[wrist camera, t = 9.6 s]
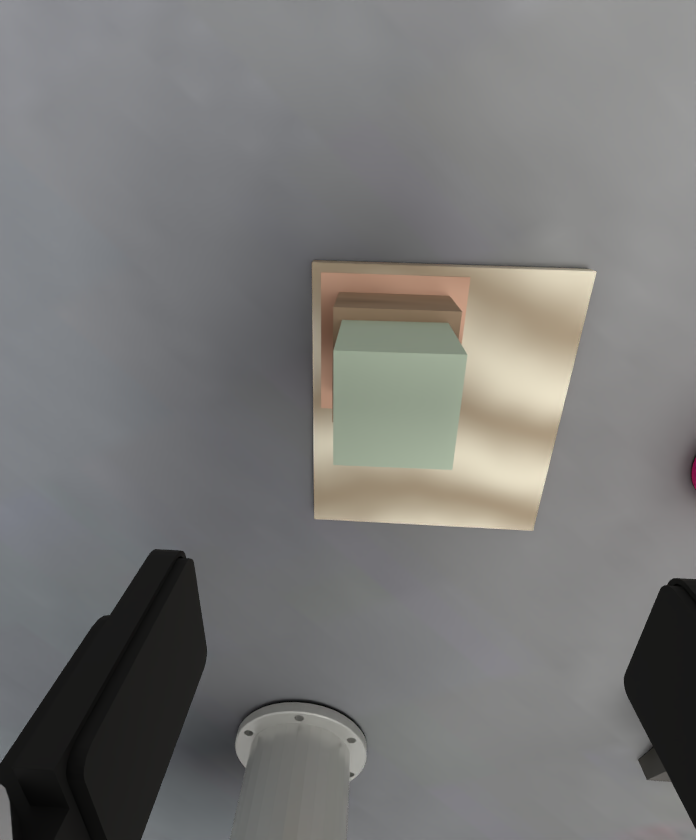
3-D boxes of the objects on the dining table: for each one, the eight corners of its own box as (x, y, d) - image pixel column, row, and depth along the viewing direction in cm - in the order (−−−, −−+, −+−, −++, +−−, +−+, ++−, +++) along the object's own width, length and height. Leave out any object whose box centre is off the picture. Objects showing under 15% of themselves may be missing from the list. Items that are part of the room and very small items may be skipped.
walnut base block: (437, 397, 28) (447, 427, 24) (337, 393, 28) (331, 422, 24) (449, 295, 25) (462, 311, 21) (339, 291, 25) (333, 307, 22)
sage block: (437, 419, 24) (452, 469, 19) (341, 415, 24) (333, 464, 20) (448, 322, 22) (467, 354, 17) (342, 319, 22) (333, 350, 17)
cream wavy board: (528, 521, 32) (533, 531, 31) (315, 510, 33) (313, 519, 32) (588, 268, 25) (597, 271, 24) (314, 260, 26) (311, 262, 25)
